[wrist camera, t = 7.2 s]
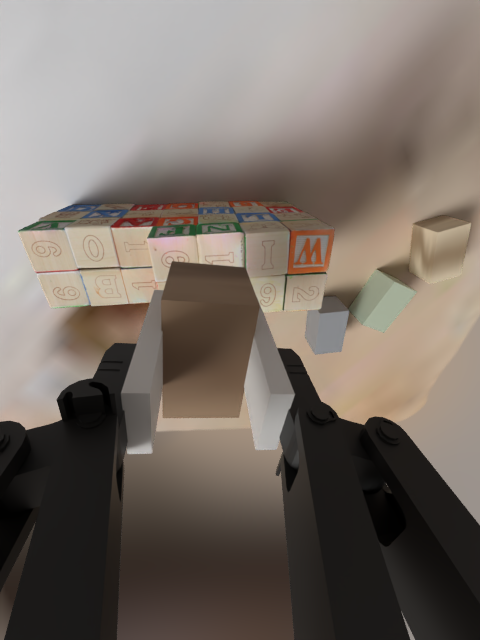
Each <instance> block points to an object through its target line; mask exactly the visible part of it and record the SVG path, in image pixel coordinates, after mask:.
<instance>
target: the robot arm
mask: <svg viewBox="0 0 480 640" xmlns="http://www.w3.org/2000/svg"><path fill="white" fill-rule="evenodd" d="M163 291H164V290H154V292H153V295H152V299H151V302H150V305H149V308H148V311H147V314H146V317H145V320H144V323H143V326H142V329H141V333H140V336H139V339H138V342H137V344H127V343H115V344H114V345H112V346H111V347H110V348H109V349H108V350H107V351H106V352H105V354H104V356H103V358H102V360H101V363H100V364H99V367H98V369H97V371H96V373H95V375H94V377H93V379H86V380H81V381H78V382H76V383H74V384H72V385H69V386H68V387H67V388H66V389H64V390H63V391H62V392H61V393H60V395H59V397H58V398H57V403H58V406H59V410H60V413H61V417H62V420H60V421H58V422H55V423H52V424H49V425H45V426H41V427H37V428H33V429H29V430H25V428H24V427H23V426H22V425H21V424H20V423H17V422H13V421H4V422H0V592H1V590H2V588H3V585H4V584H5V582H6V580H7V578H8V576H9V574H10V572H11V570H12V567H13V566H14V564H15V562H16V560H17V558H18V556H19V554H20V552H21V550H22V548H23V546H24V544H25V542H26V540H27V538H28V536H29V534H30V532H31V530H32V528H33V526H34V524H35V528H34V531H33V535H32V539H31V542H30V546H29V549H28V553H27V557H26V561H25V564H24V568H23V572H22V575H21V579H20V583H19V587H18V591H17V594H16V598H15V601H14V605H13V609H12V612H11V616H10V620H9V624H8V628H7V631H6V635H5V638H4V640H117V624H118V623H117V622H118V600H119V578H120V556H121V532H122V531H121V530H122V509H123V488H124V462H123V459H124V455H125V451H126V447H127V453H128V454H146V453H152V450H153V444H154V438H155V432H156V426H157V419H158V413H159V406H160V400H161V394H162V387H163V331H161V298H162V295H163ZM257 300H258V298H257ZM258 302H259V300H258ZM259 305H260V303H259ZM244 390H245V395H246V401H247V406H248V412H249V417H250V422H251V428H252V433H253V439H254V444H255V449H256V450H276V449H277V446H278V443H279V441H280V442H281V445H282V449H283V452H282V456H281V458H280V461H279V464H278V466H277V470H276V475H277V476H279V474H280V471H281V477H282V490H283V502H284V515H285V527H286V540H287V552H288V565H289V577H290V589H291V603H292V615H293V628H294V640H410V637H409V634H408V631H407V628H406V625H405V622H404V619H403V616H402V613H403V615H404V617H405V619H406V621H407V623H408V626H409V627H410V630H411V632H412V634H413V636H414V638H415V640H480V525H479V524H478V523H477V522H476V520H475V519H474V518H473V516H472V515H471V514H470V513H469V511H468V510H467V509H466V508H465V506H464V505H463V504H462V503H461V501H460V500H459V499H458V497H457V496H456V495H455V494H454V492H453V491H452V490H451V489H450V487H449V486H448V485H447V484H446V482H445V481H444V480H443V479H442V477H441V476H440V475H439V474H438V472H437V471H436V470H435V469H434V467H433V466H432V465H431V463H430V462H429V461H428V460H427V458H426V457H425V456H424V455H423V453H422V452H421V451H420V450H419V448H418V447H417V446H416V445H415V443H414V442H413V441H412V440H411V438H410V437H409V436H408V435H407V433H406V432H405V431H404V430H403V429H402V428H401V427H400V426H399V425H397V424H396V423H394V422H392V421H391V420H388V419H386V418H383V417H372V418H369V419H368V421H367V422H366V423H365V425H362V424H358V423H354V422H351V421H347V420H344V419H341V418H339V417H338V415H337V413H336V412H335V411H334V410H333V409H332V408H331V407H330V406H328V405H327V404H325V403H323V402H321V400H320V398H319V396H318V394H317V392H316V390H315V388H314V386H313V384H312V382H311V380H310V377H309V375H307V371H306V369H305V367H304V365H303V363H302V361H301V359H300V357H299V356H298V355H297V354H296V353H295V352H294V351H293V350H292V349H283V348H277V347H276V344H275V342H274V339H273V337H272V334H271V331H270V329H269V326H268V324H267V321H266V319H265V316H264V313H263V311H262V308H261V306H260V308H259V314H258V319H257V324H256V330H255V335H254V338H253V343H252V348H251V353H250V358H249V363H248V368H247V373H246V379H245V384H244ZM386 484H387V485H386ZM35 522H36V523H35ZM401 611H402V613H401Z"/></svg>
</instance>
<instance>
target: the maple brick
mask: <svg viewBox="0 0 480 640" xmlns="http://www.w3.org/2000/svg"><path fill="white" fill-rule="evenodd" d="M470 228H471V223H470V222H467V221H463V220H459V219H456V218H452V217H448V216H445V215H442V216H438V217H435V218H431V219H428V220H424V221H421V222H417V223H414V224H413V228H412V239H411V250H410V261H409V272H411V273H412V274H414V275H416V276H417V277H419V278H421V279H422V280H424V281H426V282H427V283H429V284H433V283H436V282H440V281H443V280H447V279H450V278H454V277H457V276H461V271H462V267H463V262H464V257H465V252H466V247H467V242H468V237H469V233H470Z"/></svg>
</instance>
